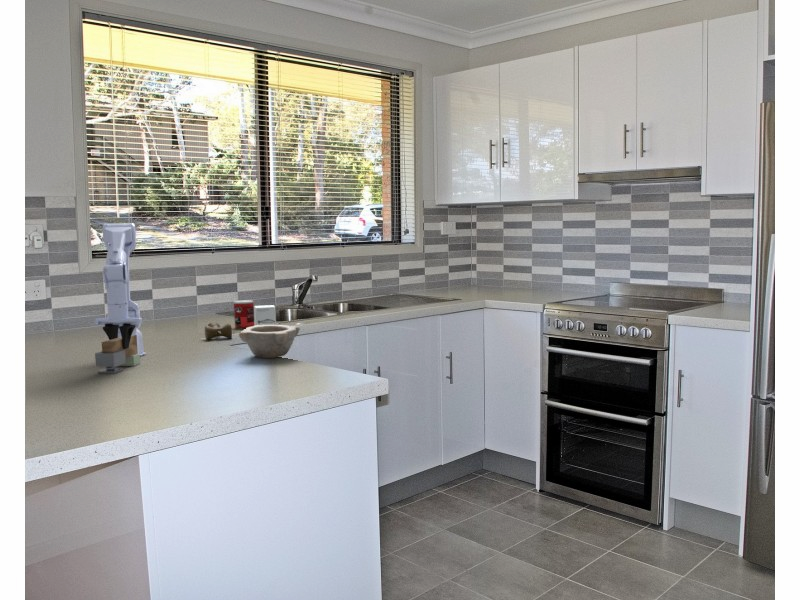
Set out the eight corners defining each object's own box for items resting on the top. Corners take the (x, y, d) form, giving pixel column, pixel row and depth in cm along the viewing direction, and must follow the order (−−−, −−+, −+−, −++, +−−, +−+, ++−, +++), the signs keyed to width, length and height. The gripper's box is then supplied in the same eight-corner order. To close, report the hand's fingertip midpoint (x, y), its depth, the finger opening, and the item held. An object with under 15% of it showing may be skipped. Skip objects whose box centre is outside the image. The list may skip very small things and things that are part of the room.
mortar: (285, 361, 220) (284, 332, 219) (235, 360, 224) (233, 331, 223) (304, 351, 237) (303, 324, 236) (257, 350, 240) (256, 323, 240)
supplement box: (256, 342, 257) (255, 307, 256) (255, 339, 264) (253, 305, 263) (277, 341, 259) (275, 306, 258) (275, 338, 266) (273, 304, 265)
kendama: (226, 334, 282) (234, 340, 263) (201, 337, 278) (208, 343, 260) (225, 319, 281) (233, 324, 263) (200, 322, 278) (206, 327, 259)
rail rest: (125, 363, 223) (125, 353, 223) (140, 363, 222) (139, 354, 222) (119, 365, 220) (118, 356, 220) (134, 365, 219) (133, 356, 219)
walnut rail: (129, 353, 223) (127, 334, 223) (137, 353, 223) (136, 334, 222) (103, 362, 210) (101, 342, 209) (112, 362, 209) (110, 342, 208)
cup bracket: (108, 369, 215) (106, 349, 214) (126, 369, 214) (124, 349, 213) (96, 373, 209) (94, 353, 208) (114, 373, 208) (113, 353, 207)
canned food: (234, 326, 298) (232, 300, 297) (253, 325, 301) (252, 299, 300) (235, 329, 291) (234, 302, 290) (255, 328, 293) (254, 301, 292)
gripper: (87, 305, 212) (90, 350, 213) (132, 305, 209) (135, 350, 211) (101, 302, 219) (104, 346, 220) (145, 302, 216) (147, 346, 218)
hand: (120, 348), depth 216 cm, fingers closed on walnut rail, 3 cm apart
